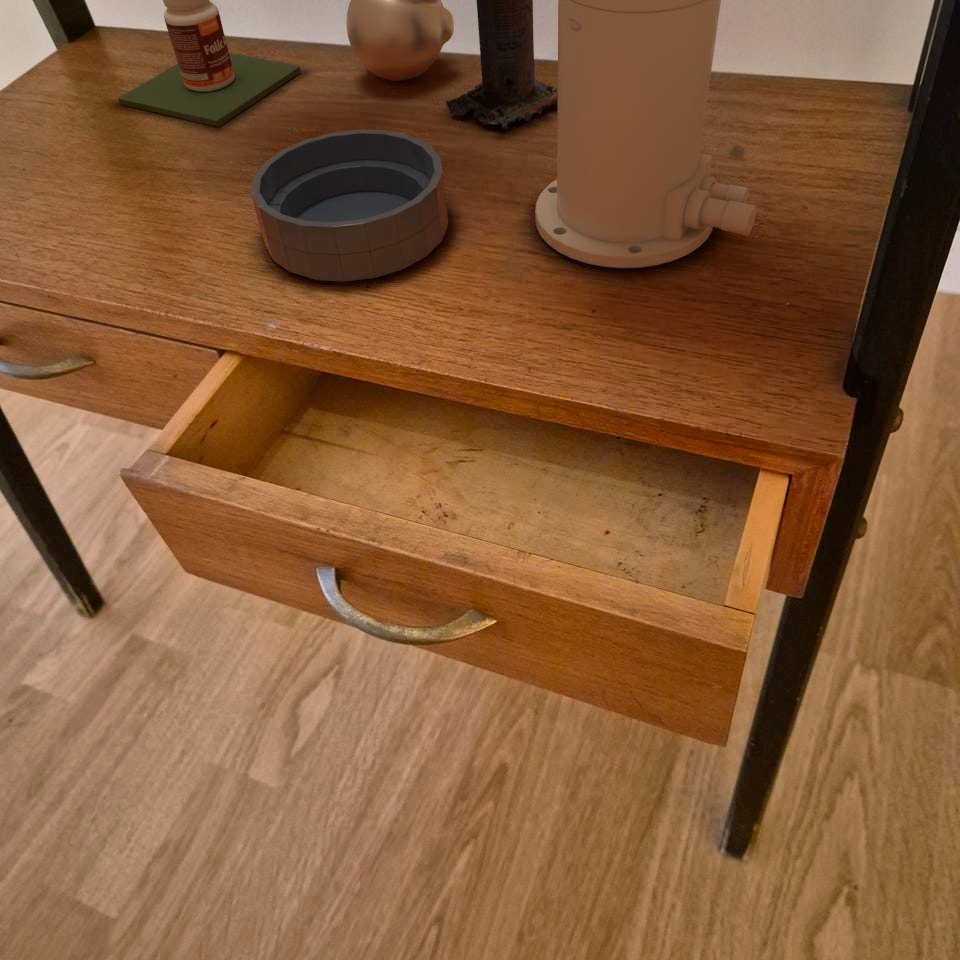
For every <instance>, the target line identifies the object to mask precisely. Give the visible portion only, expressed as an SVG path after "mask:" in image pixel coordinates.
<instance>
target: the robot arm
mask: <svg viewBox="0 0 960 960" xmlns="http://www.w3.org/2000/svg"><path fill="white" fill-rule="evenodd" d="M721 1H722V0H557V89H558V104H557V118H556V119H557V121H556V122H557V127H556V128H557V129H556V131H557V134H556V137H557V138H556V139H557V141H556V142H557V144H556V161H557V162H556V178H555V180H553V181H552V182H551V183H549V184H547V186H545V188H544V189H543V190H542V191H541V193H540V194H539V195H538V198H537V200H536V202H535V211H534V214H535V215H534V219H535V227H536V230H537V231H538V234H539V236H540V237H541V238H542V239H543V241H544V242H545V243H546V244H547V245H548V246H550V247H551V248H552V249H553V250H555V251H557V252H558V253H560V254H562V255H564V256H566V257H568V258H569V259H572V260H575V261H577V262H581V263H584V264H586V265H593V266H598V267H602V268H611V269H613V268H614V269H640V268H647V267H656V266H659V265H664V264H667V263H670V262H674V261H676V260H679V259H680V258H683V257H685V256H687V255H689V254H691V253H692V252H694V251H696V250H697V249H698V248H700V247H701V246H703V244H704V243H705V242H706V241H707V240H708V239H709V236H710V235H711V234H712V231H713V230H714V228H716V229H720V230H721V231H725V232H729V233H733V234H738V235H743V236H746V237H748V236H749V235H750V234H751V232H752V229H753V227H754V224H755V221H756V217H757V212H758V206H757V205H755V204H749V203H747V202H748V200H749V196H750V195H749V194H750V188H749V187H746V186H741V185H735V184H725V183H720V182H717V178H715V177H713V176H711V172H712V171H711V170H712V164H713V158H714V157H713V155H711V154H705V153H702V152H701V151H702V145H703V137H704V129H705V122H706V116H707V115H706V113H707V109H708V108H707V107H708V99H709V93H710V85H711V78H712V70H713V61H714V55H715V47H716V39H717V32H718V25H719V17H720V9H721Z"/></svg>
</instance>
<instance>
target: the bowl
mask: <svg viewBox="0 0 960 960" xmlns="http://www.w3.org/2000/svg"><path fill="white" fill-rule="evenodd" d="M442 162H443V161H442V157H441V156H440V155H439V154H438V153H437V152H436V150H435V149H434V148H433V147H432V146H431V145H430V144H429V143H427V142H425V141H423V140H421V139H418V138H417V137H415V136H412V135H410V134H406V133H401V132H396V131H391V130H386V129H385V130H384V129H353V130H344V131H343V130H342V131H335V132H329V133H325V134H321V135H318V136H314V137H310V138H306V139H303V140H301V141H299V142H297V143H294V144H292V145H290V146H287V147H285V148H283V149H281V150H280V151H278V152H277V153H276V154H274V155H272V156H271V157H270V158H268V159H267V160H266V161H264V162H263V163H262V164H261V166H260V168H259V169H258V170H257V172H256V173H255V174H254V176H253V177H252V181H251V182H252V183H251V191H250V194H251V199H252V202H253V205H254V209H255V213H256V217H257V220H258V224H259V228H260V231H261V235H262V239H263V242H264V247H265V248H266V250H267V252H268V253H269V256H270V257H271V259H272V261H273V262H274V263H276V264H278V265H279V266H280V267H282V269H285V271H287V272H289V273H291V274H295V275H298V276H300V277H301V276H302V277H305V278H308V279H311V280H315V281H325V282H326V281H327V282H341V283H343V282H352V281H361V280H368V279H369V280H370V279H377V278H380V277H383V276H386V275H390V274H393V273H396V272H399V271H403V270H405V269H406V268H408V267H410V266H412V265H414V264H416V263H417V262H419V261H421V260H423V259H425V258H426V257H428V255H430V253H432V252H433V251H434V250H435V249H436V248H437V247H438V246H439V244H440V243H441V242H443V239H444V237H445V235H446V231H447V229H448V226H449V217H448V216H449V215H448V207H447V206H448V205H447V196H446V186H445V184H446V183H445V175H444V167H443V163H442Z"/></svg>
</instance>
